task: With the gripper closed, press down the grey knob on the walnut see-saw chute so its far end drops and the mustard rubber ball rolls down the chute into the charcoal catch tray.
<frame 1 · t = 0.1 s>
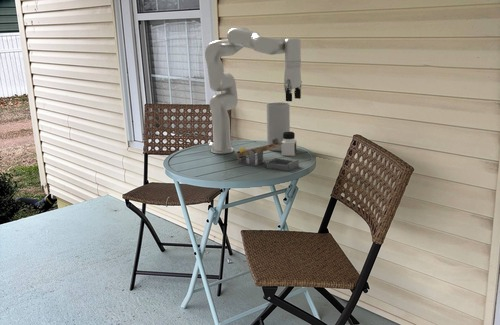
hand: (293, 99, 251), 31 cm above the table, tool pointing down, fingers open, 9 cm apart
ball: (242, 150, 259), point 6 cm above the table, tilted 12°, touching lever
stand: (256, 163, 256), on the table
lever: (260, 146, 259), point 7 cm above the table, hinge at -17.9°, touching ball, stand
cylinder vase: (278, 149, 285), on the table
medicine bottle: (289, 154, 273), on the table
catch tray: (282, 167, 248), on the table
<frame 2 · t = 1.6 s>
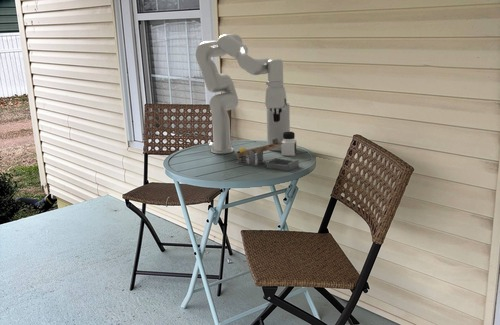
hand: (276, 121, 256), 20 cm above the table, tool pointing down, fingers closed
nothing on the table moved.
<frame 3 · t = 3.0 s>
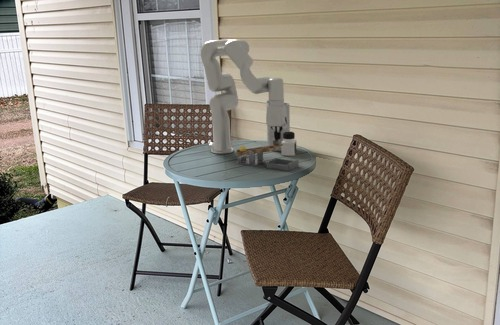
hand: (277, 139, 259), 11 cm above the table, tool pointing down, fingers closed
ball: (242, 149, 259), point 6 cm above the table, tilted 7°, touching lever
lever: (260, 146, 259), point 7 cm above the table, hinge at -12.8°, touching ball, gripper
everything else where it was.
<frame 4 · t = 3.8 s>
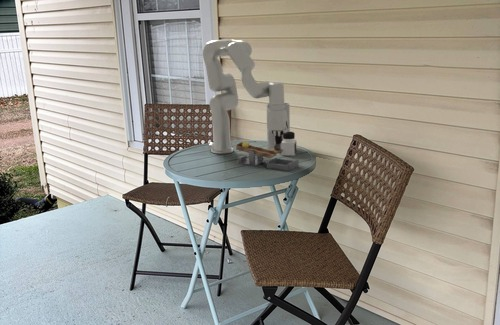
hand: (278, 143, 259), 9 cm above the table, tool pointing down, fingers closed
ball: (245, 145, 257), point 9 cm above the table, tilted 52°, touching lever
lever: (261, 146, 258), point 7 cm above the table, hinge at 6.3°, touching ball, gripper
everything else where it was.
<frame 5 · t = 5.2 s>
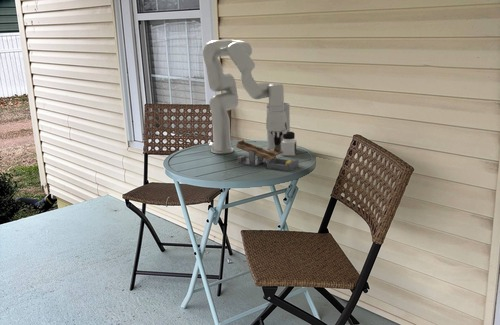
hand: (277, 144, 259), 8 cm above the table, tool pointing down, fingers closed
ball: (289, 163, 246), point 2 cm above the table, tilted 158°, touching catch tray
lever: (261, 147, 258), point 7 cm above the table, hinge at 13.4°, touching gripper
everything else where it was.
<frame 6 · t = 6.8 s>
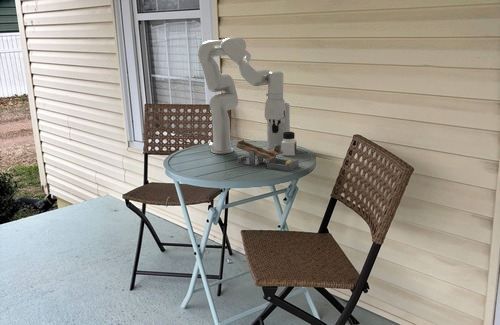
hand: (275, 132, 258), 14 cm above the table, tool pointing down, fingers closed
lever: (261, 147, 258), point 7 cm above the table, hinge at 13.7°
everything else where it was.
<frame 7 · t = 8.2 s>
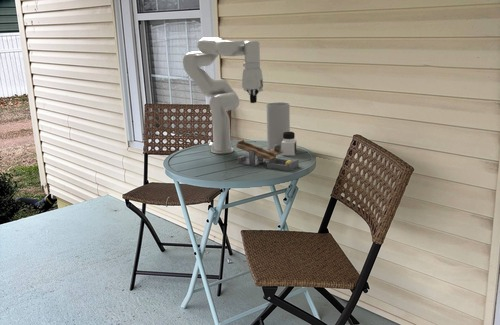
hand: (253, 102, 260), 29 cm above the table, tool pointing down, fingers closed
nothing on the table moved.
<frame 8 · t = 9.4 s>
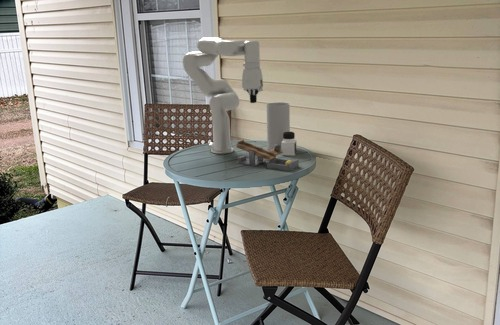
hand: (253, 102, 260), 29 cm above the table, tool pointing down, fingers closed
nothing on the table moved.
at the end: ball inside the target area on the catch tray (3.7 cm from its centre), point 2.1 cm above the catch tray's base; lever at +14° (first picture: -18°) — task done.
